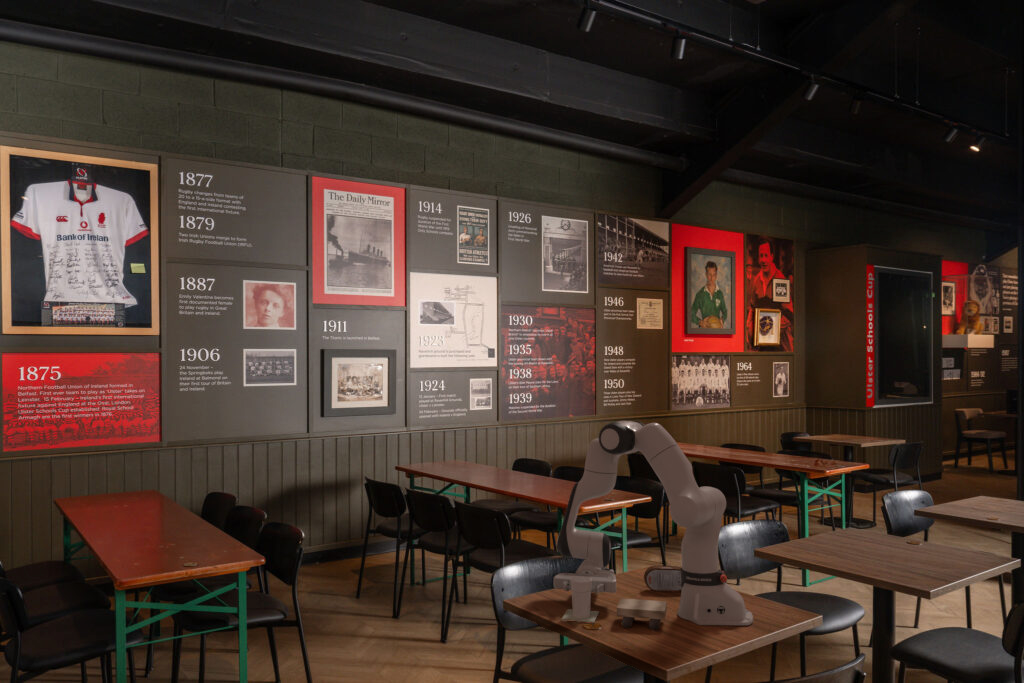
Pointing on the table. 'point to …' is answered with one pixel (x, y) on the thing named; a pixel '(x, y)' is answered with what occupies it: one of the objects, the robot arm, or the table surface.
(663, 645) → the table surface
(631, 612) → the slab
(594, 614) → the pad
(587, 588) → the cup
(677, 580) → the tin
